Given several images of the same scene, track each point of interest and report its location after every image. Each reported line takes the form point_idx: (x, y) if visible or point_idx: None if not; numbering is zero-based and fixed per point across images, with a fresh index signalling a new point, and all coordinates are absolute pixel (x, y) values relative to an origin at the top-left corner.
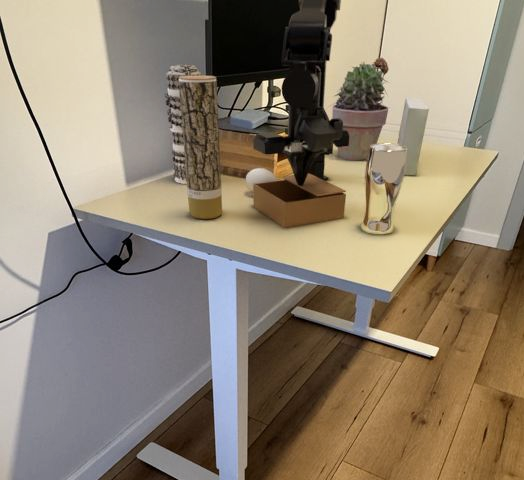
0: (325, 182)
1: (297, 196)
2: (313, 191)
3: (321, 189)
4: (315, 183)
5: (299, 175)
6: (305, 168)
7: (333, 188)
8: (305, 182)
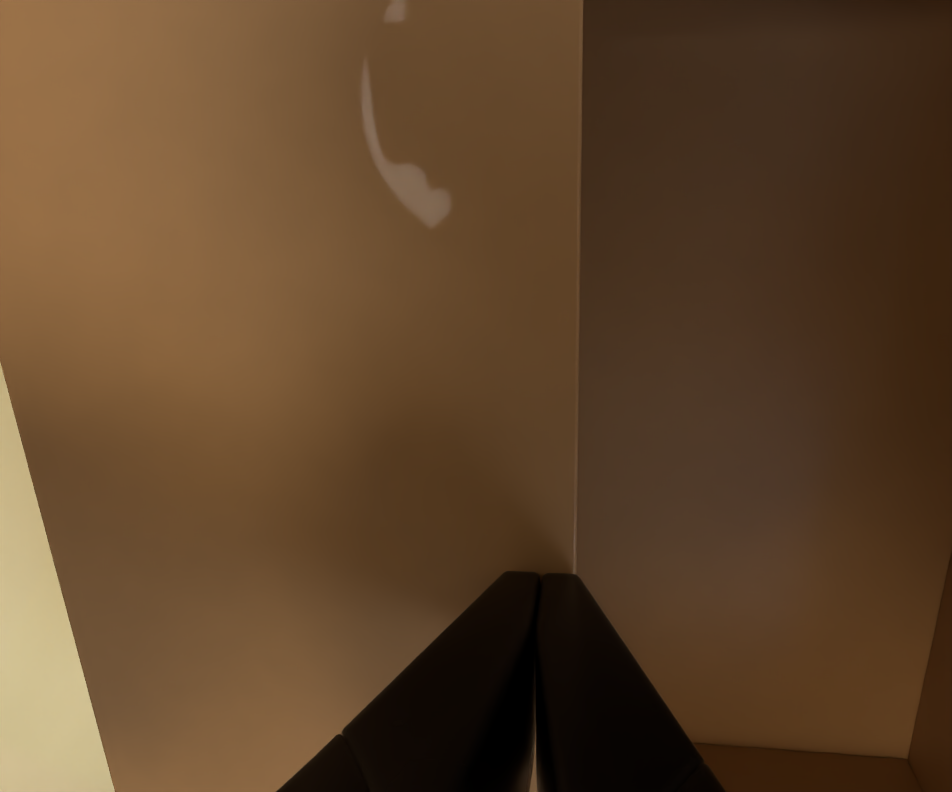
0: (90, 543)
1: None
2: (523, 159)
3: (314, 214)
4: (263, 569)
5: (629, 671)
6: (465, 764)
7: (74, 177)
8: (392, 678)
